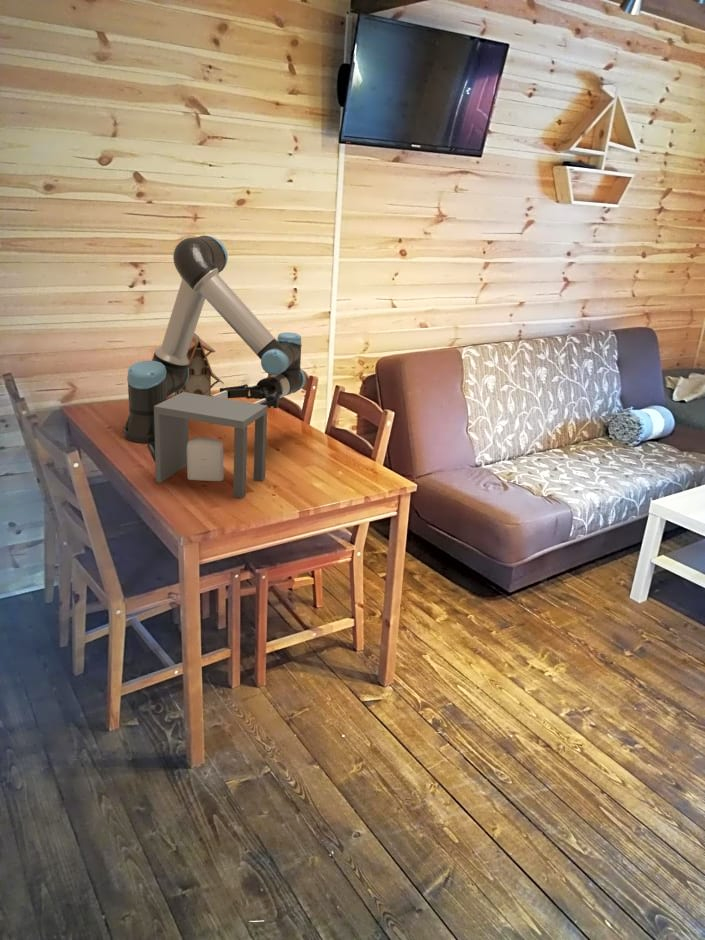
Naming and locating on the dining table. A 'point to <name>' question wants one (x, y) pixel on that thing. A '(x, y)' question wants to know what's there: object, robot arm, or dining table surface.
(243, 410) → the low shelf
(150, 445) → the phone
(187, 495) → the dining table surface
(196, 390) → the miniature house
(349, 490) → the dining table surface
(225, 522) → the dining table surface
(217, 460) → the photo printer
